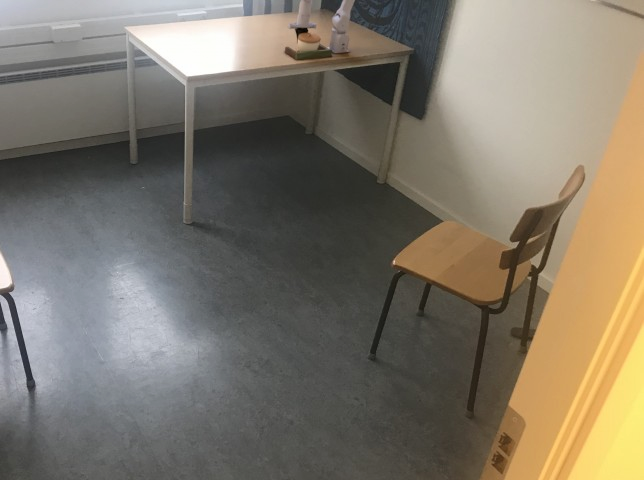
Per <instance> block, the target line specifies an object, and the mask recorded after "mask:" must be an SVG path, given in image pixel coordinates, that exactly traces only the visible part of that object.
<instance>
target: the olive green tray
mask: <svg viewBox="0 0 644 480" xmlns="http://www.w3.org/2000/svg"><path fill="white" fill-rule="evenodd" d="M326 47H327V46H325V45H323V44H321V43H320V44H319V47H318V49H317V50H316V51H305V52H300V51H298V52H297V51H296V50H294V49H293V48H291V47H290V46H285V47H284V53H286V54H287V55H288V56H290V57H291V58H293V59H294V60H296V61H297V60H309V59H317V58H328V57H332V56H333V52H332V49H328V48H326Z"/></svg>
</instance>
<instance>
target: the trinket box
mask: <svg viewBox="0 0 644 480" xmlns="http://www.w3.org/2000/svg"><path fill="white" fill-rule="evenodd" d="M321 40H322V39H321V35H319V34H316V33H313V32H308V33H301V34H299V35H298V44H297V49H298V52H305V51H316V50H317V49H318V47H319V44H321V43H320V42H321Z"/></svg>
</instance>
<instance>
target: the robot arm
mask: <svg viewBox="0 0 644 480" xmlns="http://www.w3.org/2000/svg"><path fill="white" fill-rule="evenodd" d="M355 1H356V0H342V1H341V4H340V7H338V9H337V10H336V13H335V14H334V15H333V17H332V18H331V25H332V28H331V33H330V41H329V46H325V47H326V48H328V49H332V53H333V54H343V53H349V52H350V50H349V44H350V36H349V35H348V34H347V33H348V32H347V31H348V29H349V27H350V19H351V11H352V9H353V6H354V4H355ZM312 5H313V0H300V2H299V7H298V12H297V19H296V22H292V23H288V24H287V29H288V30H293V29H294V31H295V35H296V44H297V45H298V35H299V34H301V33H309V29H313V30H314V29H315V30H317V26H318V25H317V23H315V22H313V23H312V22H310V18H311V12H312V7H313V6H312Z"/></svg>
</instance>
